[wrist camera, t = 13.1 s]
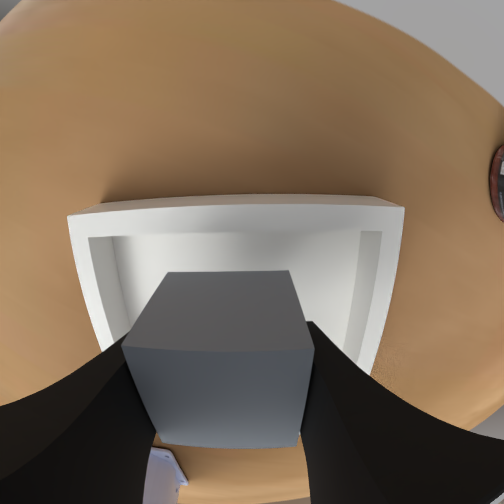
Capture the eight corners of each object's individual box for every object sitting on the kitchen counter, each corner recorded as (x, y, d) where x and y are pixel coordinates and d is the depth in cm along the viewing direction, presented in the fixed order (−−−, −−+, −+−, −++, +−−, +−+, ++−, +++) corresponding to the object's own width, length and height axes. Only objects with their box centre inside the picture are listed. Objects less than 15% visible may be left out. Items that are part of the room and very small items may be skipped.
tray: (339, 396, 17) (349, 427, 14) (147, 397, 17) (137, 427, 14) (374, 196, 12) (404, 207, 10) (99, 203, 12) (66, 215, 10)
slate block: (283, 362, 10) (296, 446, 6) (183, 362, 10) (162, 442, 6) (288, 270, 9) (314, 348, 5) (167, 272, 9) (120, 345, 5)
